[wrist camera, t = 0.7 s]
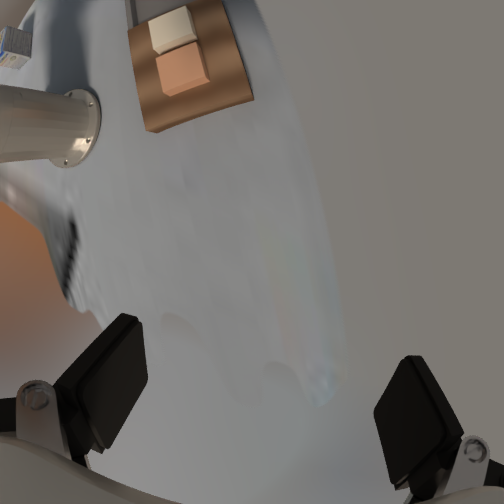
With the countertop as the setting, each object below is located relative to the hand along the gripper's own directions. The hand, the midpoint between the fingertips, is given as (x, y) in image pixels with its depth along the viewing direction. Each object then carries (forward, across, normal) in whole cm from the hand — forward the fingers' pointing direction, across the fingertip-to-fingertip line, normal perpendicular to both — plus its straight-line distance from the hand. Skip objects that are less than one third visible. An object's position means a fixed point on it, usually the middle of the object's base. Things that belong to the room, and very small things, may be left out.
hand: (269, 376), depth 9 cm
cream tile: (+23, +16, -23) cm, 36 cm away
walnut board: (+26, +14, -20) cm, 36 cm away
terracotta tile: (+23, +13, -17) cm, 32 cm away
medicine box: (+27, +54, -31) cm, 68 cm away
